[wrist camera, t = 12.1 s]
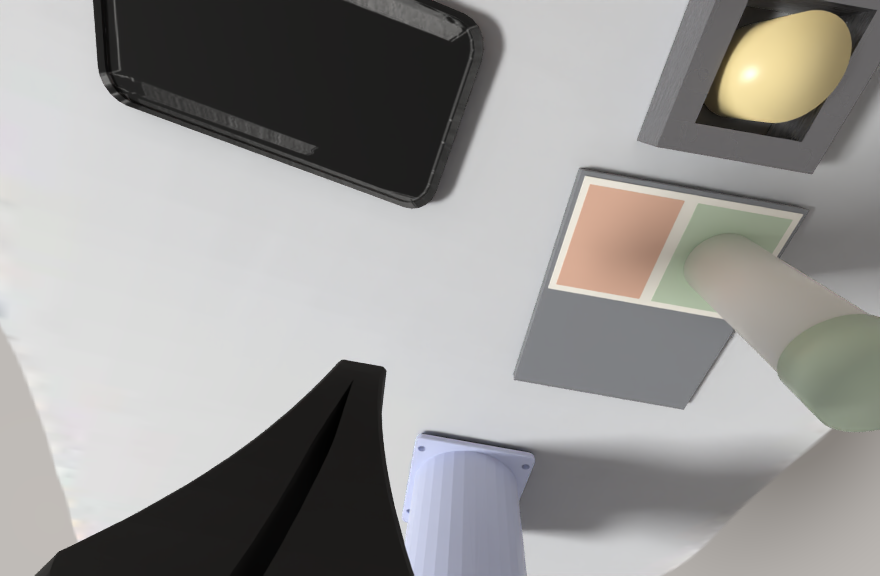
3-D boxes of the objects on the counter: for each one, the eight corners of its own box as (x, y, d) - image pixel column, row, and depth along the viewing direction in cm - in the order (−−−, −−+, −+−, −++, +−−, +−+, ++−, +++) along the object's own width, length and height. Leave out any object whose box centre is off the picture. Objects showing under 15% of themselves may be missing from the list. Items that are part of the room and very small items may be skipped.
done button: (763, 124, 15) (812, 130, 13) (686, 110, 15) (721, 114, 13) (812, 30, 14) (875, 19, 12) (726, 15, 14) (773, 1, 12)
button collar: (775, 164, 16) (812, 174, 14) (636, 140, 16) (656, 146, 14) (872, -10, 13) (932, -24, 12) (704, -39, 13) (738, -59, 12)
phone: (82, -147, 13) (493, 25, 14) (110, -130, 14) (492, 29, 15) (100, 98, 17) (426, 217, 18) (121, 97, 18) (429, 211, 19)
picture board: (679, 403, 23) (684, 410, 22) (513, 374, 23) (514, 381, 22) (800, 207, 17) (811, 211, 16) (579, 168, 17) (582, 170, 16)
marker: (738, 295, 19) (902, 436, 11) (671, 290, 19) (793, 426, 12) (770, 234, 17) (985, 354, 10) (697, 228, 17) (857, 343, 10)
